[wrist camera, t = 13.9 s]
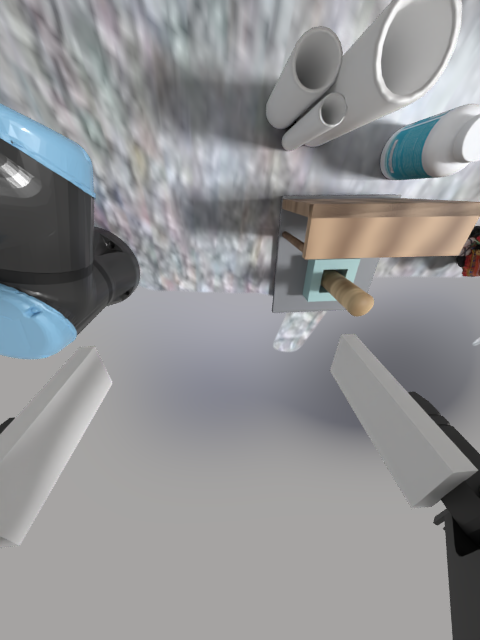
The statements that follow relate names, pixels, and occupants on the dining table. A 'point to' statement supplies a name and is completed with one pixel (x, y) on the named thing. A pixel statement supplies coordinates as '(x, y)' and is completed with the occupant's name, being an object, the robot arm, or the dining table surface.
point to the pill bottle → (434, 145)
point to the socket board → (298, 263)
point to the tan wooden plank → (382, 227)
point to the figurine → (471, 254)
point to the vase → (363, 71)
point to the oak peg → (347, 293)
